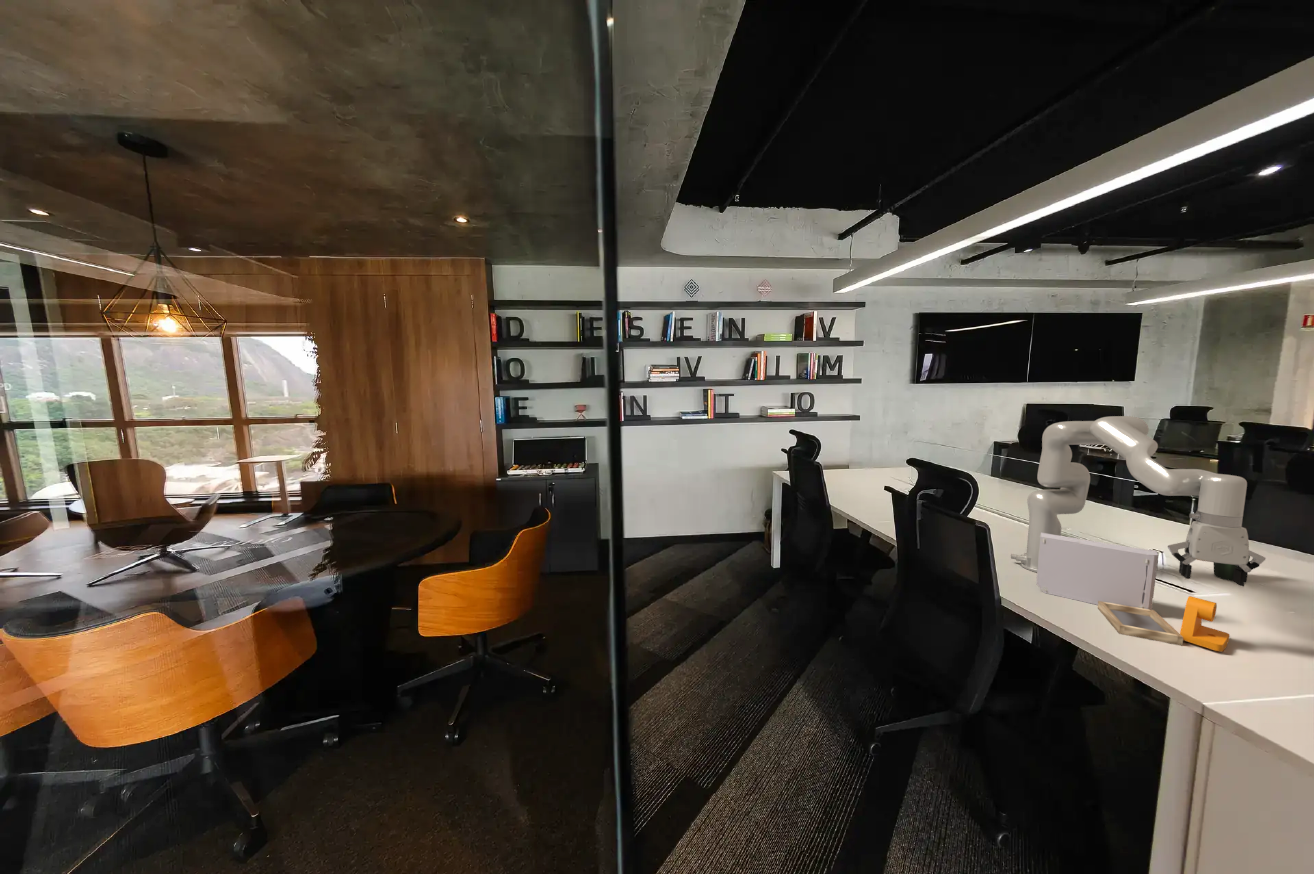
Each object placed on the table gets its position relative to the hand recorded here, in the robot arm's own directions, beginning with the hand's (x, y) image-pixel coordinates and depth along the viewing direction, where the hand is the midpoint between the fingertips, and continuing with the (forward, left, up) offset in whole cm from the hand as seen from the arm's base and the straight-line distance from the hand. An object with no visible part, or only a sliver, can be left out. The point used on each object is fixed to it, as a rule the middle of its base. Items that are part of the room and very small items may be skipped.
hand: (1211, 580), depth 119 cm
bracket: (0, 0, -18) cm, 18 cm away
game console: (-19, +17, -18) cm, 31 cm away
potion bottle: (+31, +63, -18) cm, 73 cm away
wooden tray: (-12, +3, -18) cm, 22 cm away
